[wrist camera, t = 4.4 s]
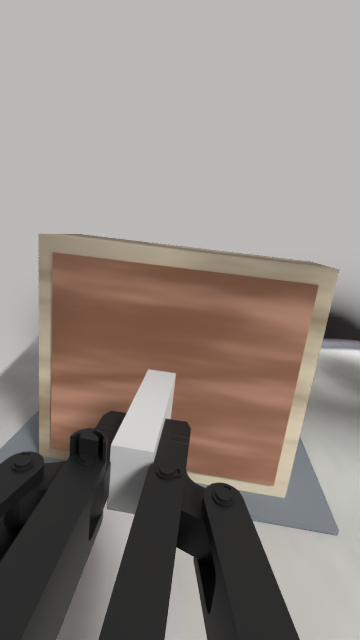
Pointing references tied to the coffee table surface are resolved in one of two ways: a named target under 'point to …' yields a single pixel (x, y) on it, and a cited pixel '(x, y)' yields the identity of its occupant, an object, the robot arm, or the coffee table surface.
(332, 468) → the coffee table surface
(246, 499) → the slate mat
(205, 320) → the birch slab
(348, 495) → the coffee table surface
